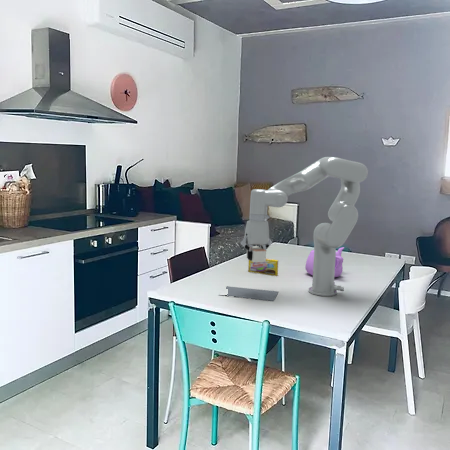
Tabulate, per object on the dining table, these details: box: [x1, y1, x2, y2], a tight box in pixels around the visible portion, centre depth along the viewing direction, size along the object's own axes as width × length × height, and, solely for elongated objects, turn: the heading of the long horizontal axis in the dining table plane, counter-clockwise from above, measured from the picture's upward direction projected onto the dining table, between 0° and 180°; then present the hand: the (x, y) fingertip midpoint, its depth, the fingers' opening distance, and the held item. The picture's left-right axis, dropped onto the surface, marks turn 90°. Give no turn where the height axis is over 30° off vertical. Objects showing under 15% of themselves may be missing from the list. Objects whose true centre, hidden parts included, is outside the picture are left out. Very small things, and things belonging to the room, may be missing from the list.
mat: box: [225, 285, 279, 302], centre depth 203 cm, size 24×14×1 cm, turn 75°
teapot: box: [304, 246, 345, 278], centre depth 240 cm, size 23×21×15 cm
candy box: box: [247, 257, 279, 277], centre depth 240 cm, size 16×2×8 cm, turn 62°
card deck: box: [246, 245, 267, 262], centre depth 200 cm, size 5×9×5 cm, turn 21°
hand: (255, 259), depth 200 cm, fingers closed on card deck, 5 cm apart
